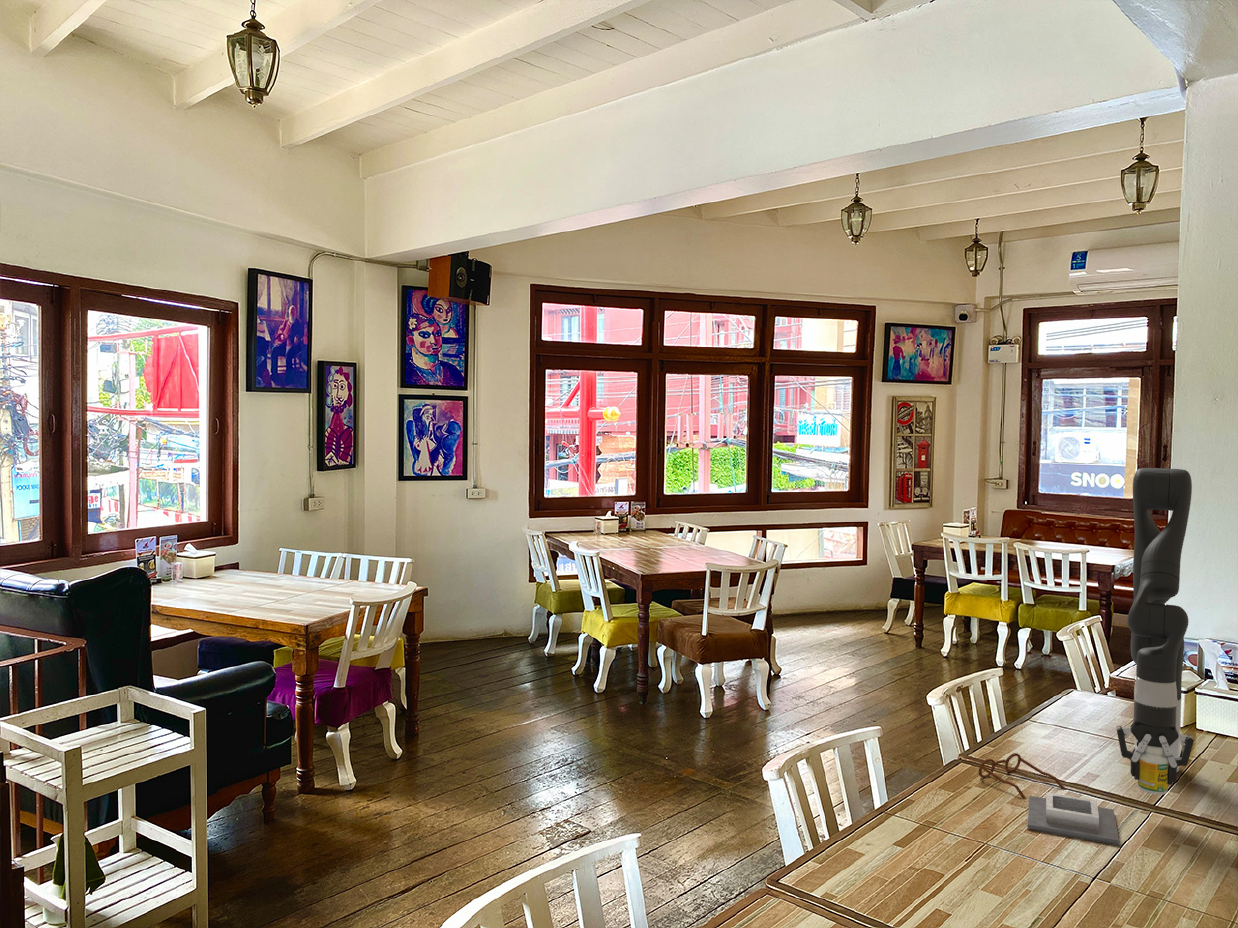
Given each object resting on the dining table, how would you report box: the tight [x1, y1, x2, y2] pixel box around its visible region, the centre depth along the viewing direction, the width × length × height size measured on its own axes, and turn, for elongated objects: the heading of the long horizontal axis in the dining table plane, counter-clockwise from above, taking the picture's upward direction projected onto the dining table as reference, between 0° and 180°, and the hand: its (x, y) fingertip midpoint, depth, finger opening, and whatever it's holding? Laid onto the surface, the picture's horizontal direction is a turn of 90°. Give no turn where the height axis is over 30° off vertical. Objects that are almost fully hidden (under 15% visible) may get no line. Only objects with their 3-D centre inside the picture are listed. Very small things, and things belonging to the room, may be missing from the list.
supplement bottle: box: [1137, 745, 1169, 796], centre depth 186 cm, size 5×5×10 cm
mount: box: [1027, 792, 1120, 846], centre depth 184 cm, size 16×16×4 cm
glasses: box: [978, 752, 1067, 800], centre depth 204 cm, size 13×13×5 cm
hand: (1152, 780), depth 186 cm, fingers closed on supplement bottle, 5 cm apart
